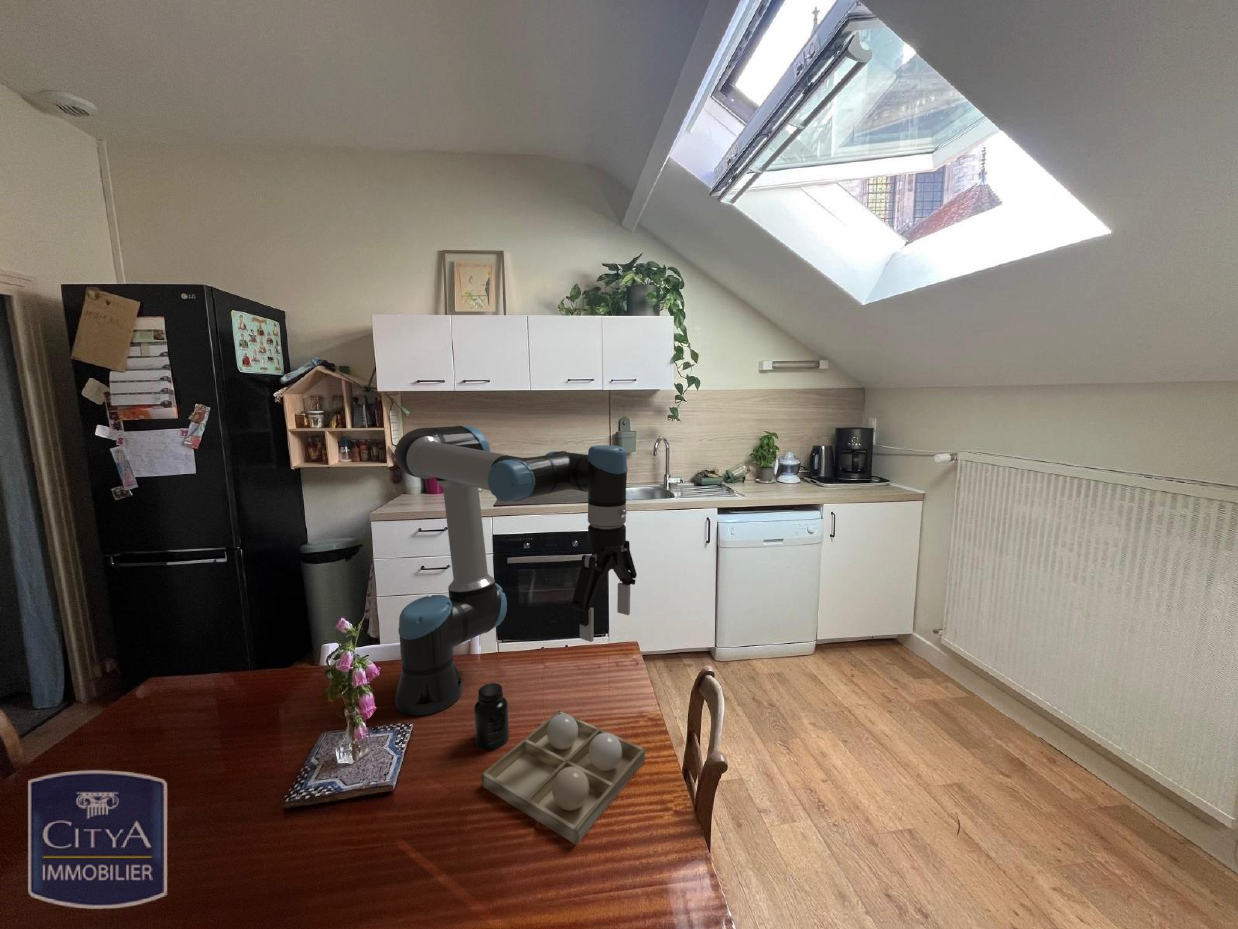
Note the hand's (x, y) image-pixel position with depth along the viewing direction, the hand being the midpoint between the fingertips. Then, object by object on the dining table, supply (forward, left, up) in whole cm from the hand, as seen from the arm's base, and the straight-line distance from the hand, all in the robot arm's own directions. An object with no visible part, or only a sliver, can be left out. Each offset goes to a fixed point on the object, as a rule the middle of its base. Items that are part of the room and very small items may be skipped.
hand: (606, 625), depth 99 cm
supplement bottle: (-20, -14, -26) cm, 35 cm away
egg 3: (+5, -7, -25) cm, 26 cm away
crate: (-1, -13, -26) cm, 28 cm away
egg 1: (-6, -7, -25) cm, 26 cm away
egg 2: (+5, -18, -25) cm, 31 cm away
